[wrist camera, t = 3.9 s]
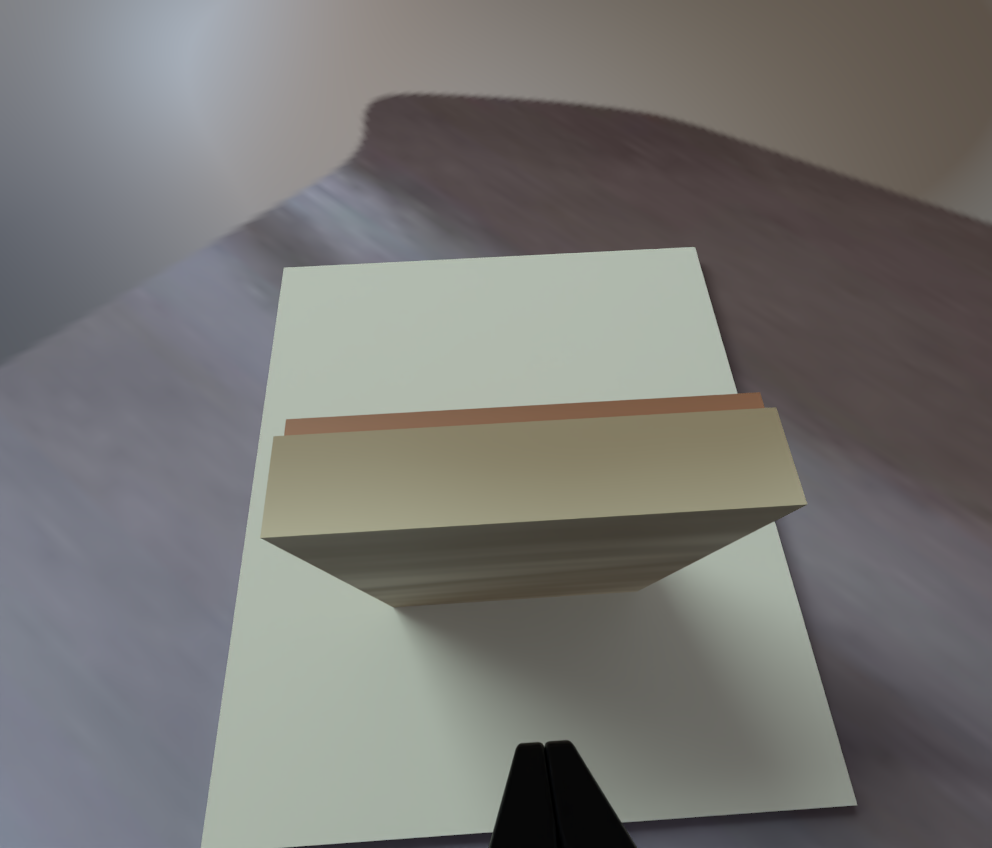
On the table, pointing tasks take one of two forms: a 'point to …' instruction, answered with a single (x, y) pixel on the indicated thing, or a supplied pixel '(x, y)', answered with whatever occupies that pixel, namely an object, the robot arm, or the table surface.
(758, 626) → the mat
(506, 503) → the tile
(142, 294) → the table surface
